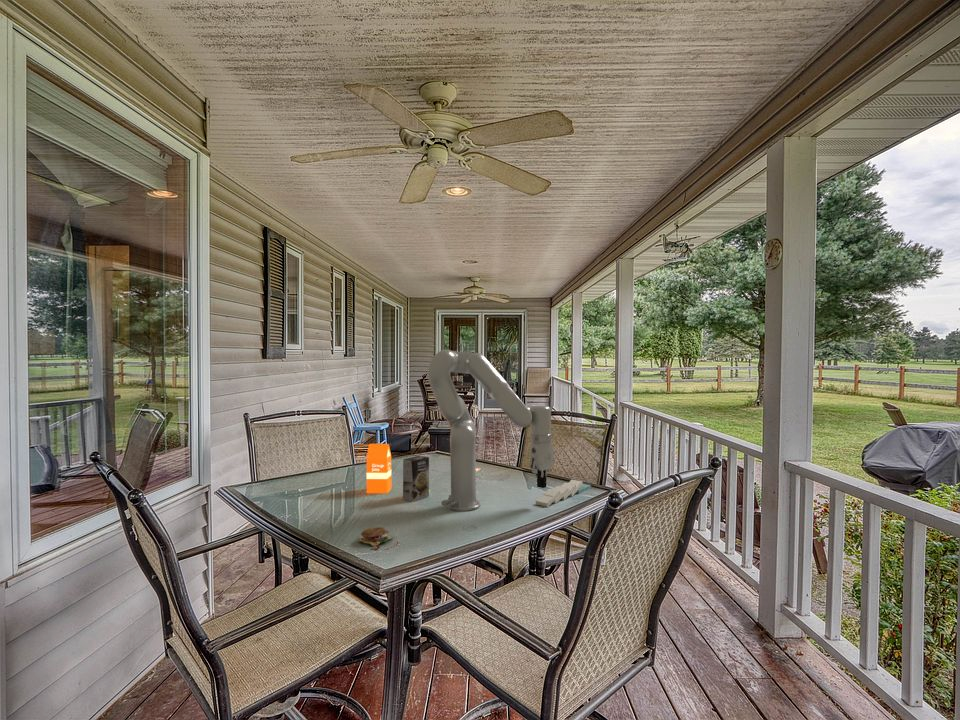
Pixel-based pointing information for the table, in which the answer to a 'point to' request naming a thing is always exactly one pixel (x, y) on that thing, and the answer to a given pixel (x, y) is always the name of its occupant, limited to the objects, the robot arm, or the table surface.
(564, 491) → the domino
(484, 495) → the table surface
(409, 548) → the table surface
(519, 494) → the table surface
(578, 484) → the domino
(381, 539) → the hamburger
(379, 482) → the orange juice
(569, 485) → the domino
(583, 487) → the domino
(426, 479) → the coffee box
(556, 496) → the domino
